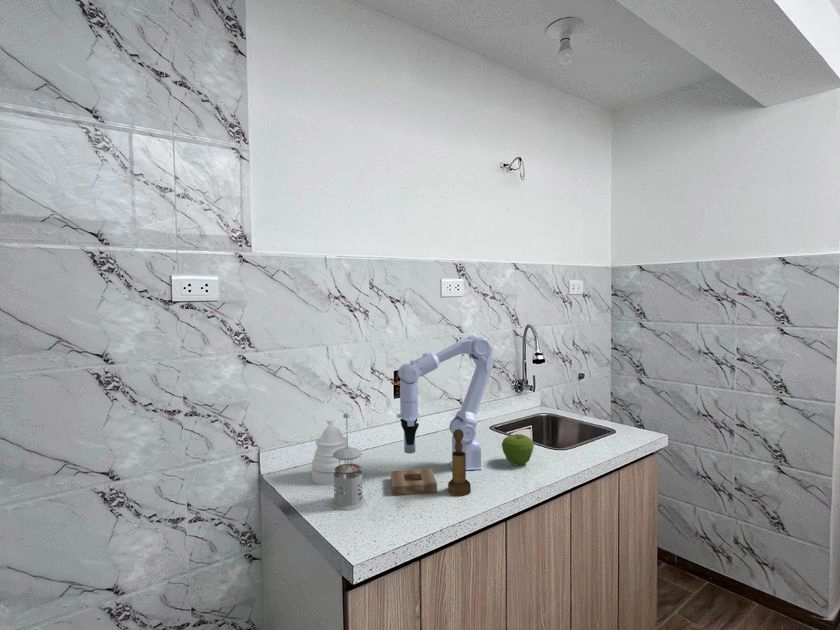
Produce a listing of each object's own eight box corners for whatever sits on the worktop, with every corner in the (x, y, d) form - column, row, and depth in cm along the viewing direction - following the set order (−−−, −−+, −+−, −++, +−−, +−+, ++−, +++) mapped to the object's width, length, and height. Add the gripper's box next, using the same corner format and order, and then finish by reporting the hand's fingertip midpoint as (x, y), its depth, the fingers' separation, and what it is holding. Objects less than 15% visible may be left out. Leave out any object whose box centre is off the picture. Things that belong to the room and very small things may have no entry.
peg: (415, 449, 143) (414, 425, 142) (415, 453, 139) (415, 428, 139) (404, 450, 142) (403, 425, 142) (404, 453, 139) (404, 428, 139)
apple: (520, 456, 154) (520, 428, 154) (540, 465, 145) (540, 436, 145) (495, 461, 150) (495, 432, 149) (515, 471, 140) (514, 441, 140)
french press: (334, 513, 114) (332, 419, 113) (326, 496, 124) (324, 410, 124) (370, 506, 117) (368, 414, 117) (359, 490, 128) (357, 406, 128)
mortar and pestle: (464, 498, 122) (463, 434, 121) (444, 493, 125) (442, 431, 125) (474, 489, 127) (473, 428, 127) (454, 484, 131) (453, 425, 130)
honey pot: (310, 472, 143) (309, 418, 143) (349, 466, 147) (347, 414, 147) (314, 487, 131) (313, 428, 131) (356, 480, 135) (355, 423, 135)
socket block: (431, 476, 137) (431, 468, 137) (437, 492, 125) (436, 484, 125) (390, 479, 136) (390, 471, 136) (392, 495, 124) (392, 486, 124)
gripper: (395, 396, 147) (396, 436, 147) (397, 406, 133) (398, 450, 133) (416, 396, 148) (417, 435, 148) (420, 405, 133) (421, 449, 134)
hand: (409, 442), depth 141 cm, fingers closed on peg, 4 cm apart
